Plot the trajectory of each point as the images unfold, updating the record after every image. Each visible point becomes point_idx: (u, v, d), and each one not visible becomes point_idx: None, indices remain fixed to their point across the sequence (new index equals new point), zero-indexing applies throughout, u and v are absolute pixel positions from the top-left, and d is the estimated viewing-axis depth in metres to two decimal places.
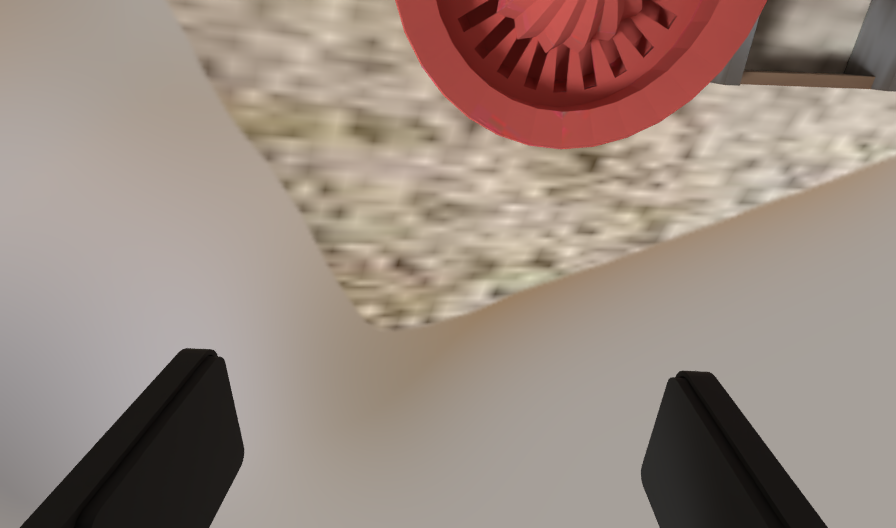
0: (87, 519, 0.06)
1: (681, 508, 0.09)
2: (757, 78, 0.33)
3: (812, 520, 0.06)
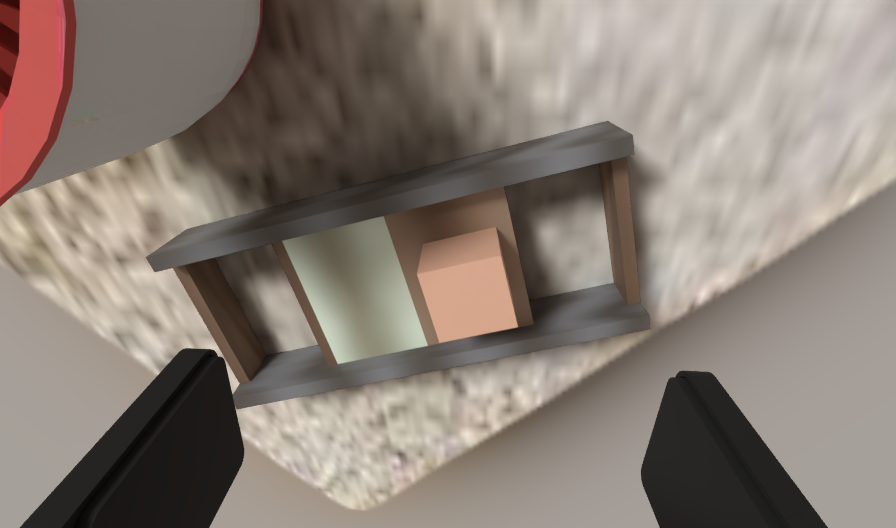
0: (87, 519, 0.06)
1: (681, 508, 0.09)
2: (189, 286, 0.30)
3: (812, 520, 0.06)
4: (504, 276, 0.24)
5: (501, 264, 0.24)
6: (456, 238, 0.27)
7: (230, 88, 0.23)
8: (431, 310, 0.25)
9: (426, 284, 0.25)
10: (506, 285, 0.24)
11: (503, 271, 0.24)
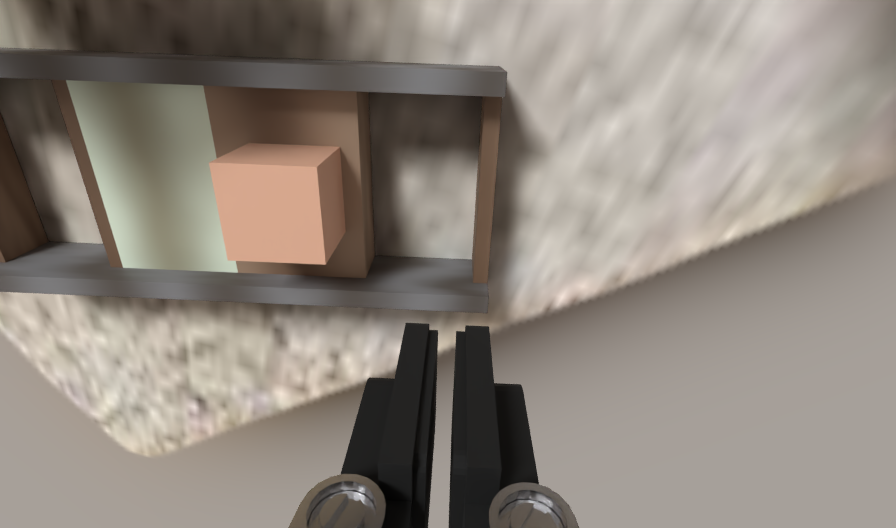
0: (420, 456, 0.07)
1: None
2: None
3: (497, 435, 0.08)
4: (317, 195, 0.20)
5: (315, 179, 0.19)
6: (288, 146, 0.22)
7: None
8: (222, 215, 0.20)
9: (219, 179, 0.20)
10: (318, 208, 0.20)
11: (317, 188, 0.20)
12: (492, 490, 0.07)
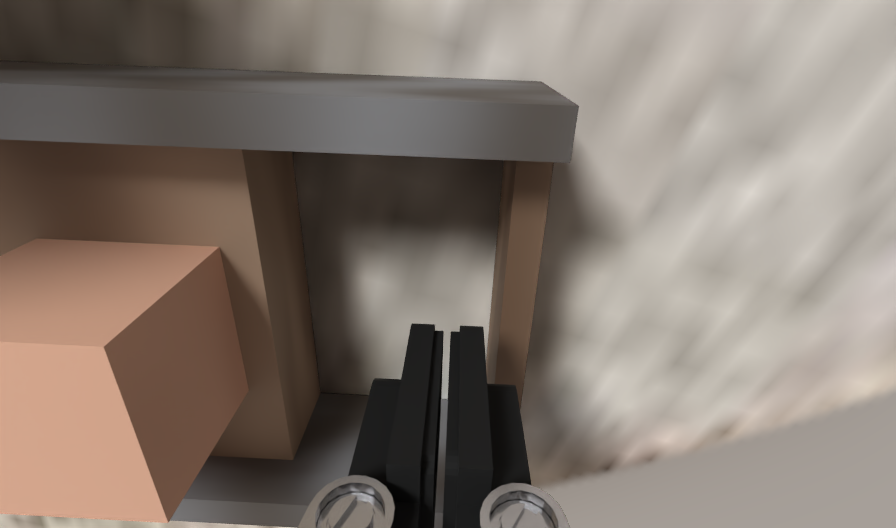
0: (428, 458, 0.07)
1: None
2: None
3: (489, 436, 0.08)
4: (120, 403, 0.08)
5: (107, 371, 0.08)
6: (110, 249, 0.11)
7: None
8: None
9: None
10: (128, 426, 0.08)
11: (115, 390, 0.08)
12: (484, 490, 0.07)
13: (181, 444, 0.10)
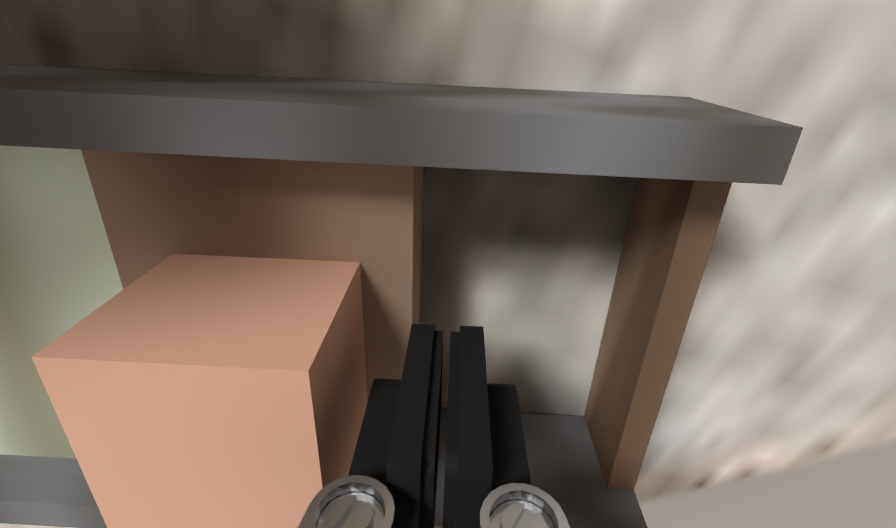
0: (428, 458, 0.07)
1: None
2: None
3: (489, 435, 0.08)
4: (311, 428, 0.08)
5: (306, 395, 0.08)
6: (253, 265, 0.11)
7: None
8: (84, 460, 0.08)
9: (64, 392, 0.08)
10: (313, 451, 0.08)
11: (309, 415, 0.08)
12: (484, 490, 0.07)
13: (338, 466, 0.10)
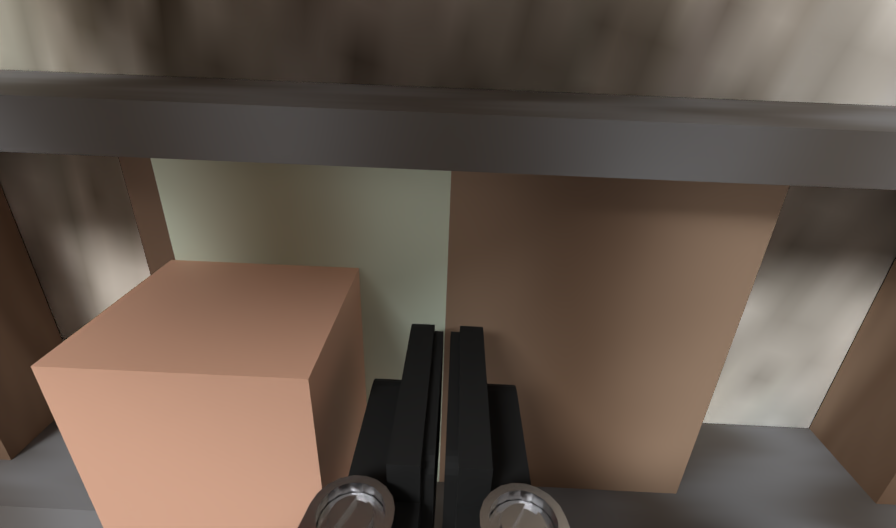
0: (428, 458, 0.07)
1: None
2: None
3: (489, 436, 0.08)
4: (311, 435, 0.08)
5: (306, 403, 0.08)
6: (252, 271, 0.11)
7: None
8: (83, 468, 0.08)
9: (64, 400, 0.08)
10: (313, 458, 0.08)
11: (309, 422, 0.08)
12: (484, 491, 0.07)
13: (338, 472, 0.10)
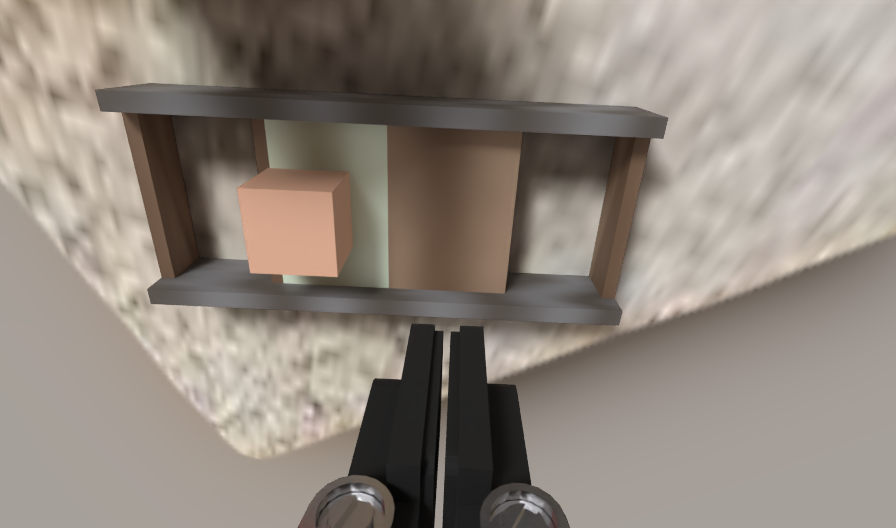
0: (428, 458, 0.07)
1: None
2: (136, 145, 0.25)
3: (489, 436, 0.08)
4: (332, 216, 0.23)
5: (330, 202, 0.22)
6: (304, 171, 0.25)
7: None
8: (246, 233, 0.23)
9: (245, 202, 0.22)
10: (332, 227, 0.23)
11: (331, 211, 0.22)
12: (484, 491, 0.07)
13: (340, 248, 0.24)
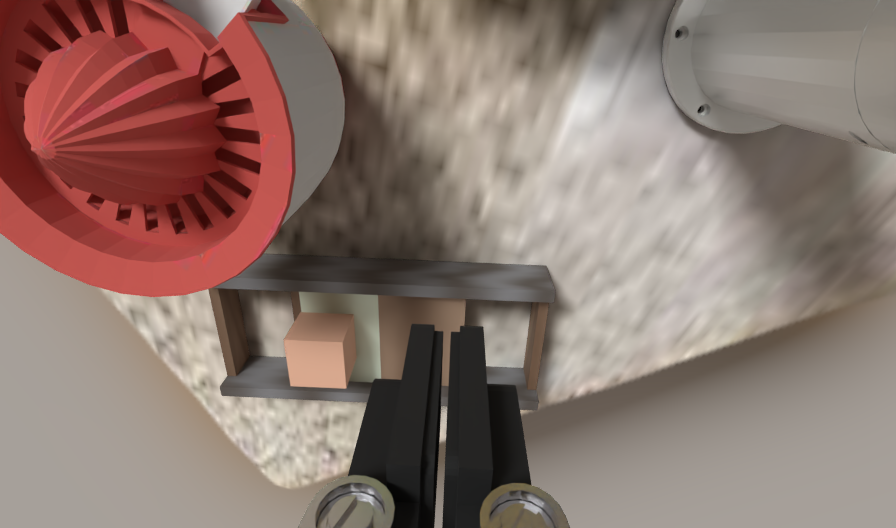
0: (428, 458, 0.07)
1: None
2: (215, 299, 0.39)
3: (489, 436, 0.08)
4: (342, 355, 0.36)
5: (341, 347, 0.35)
6: (324, 315, 0.38)
7: None
8: (289, 364, 0.36)
9: (288, 347, 0.36)
10: (343, 361, 0.36)
11: (342, 352, 0.36)
12: (484, 491, 0.07)
13: (348, 369, 0.38)
